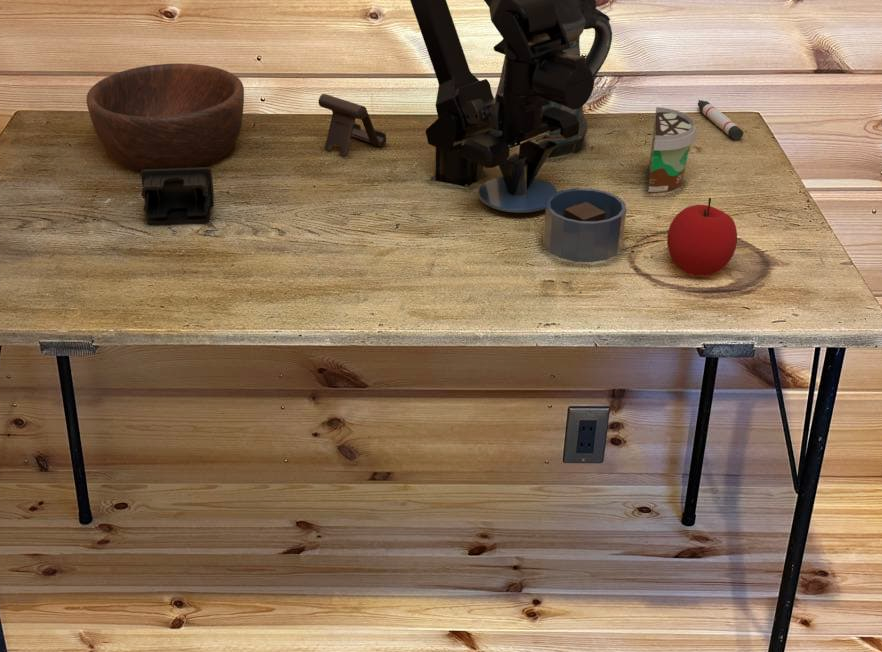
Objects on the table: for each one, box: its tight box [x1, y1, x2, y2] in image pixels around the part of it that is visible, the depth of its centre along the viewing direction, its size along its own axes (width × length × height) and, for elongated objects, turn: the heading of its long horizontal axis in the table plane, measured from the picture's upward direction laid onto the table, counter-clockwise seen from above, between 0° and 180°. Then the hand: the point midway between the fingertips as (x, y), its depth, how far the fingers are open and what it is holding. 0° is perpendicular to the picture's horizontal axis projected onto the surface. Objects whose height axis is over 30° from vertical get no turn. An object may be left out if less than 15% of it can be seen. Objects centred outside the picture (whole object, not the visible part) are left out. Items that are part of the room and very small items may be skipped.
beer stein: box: [490, 0, 613, 159], centre depth 189 cm, size 16×19×25 cm
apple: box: [666, 197, 738, 277], centre depth 157 cm, size 9×9×10 cm
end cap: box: [140, 166, 215, 226], centre depth 174 cm, size 10×7×7 cm
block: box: [564, 202, 606, 221], centre depth 164 cm, size 4×4×5 cm
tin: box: [542, 187, 627, 263], centre depth 164 cm, size 11×11×6 cm
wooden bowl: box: [85, 63, 245, 172], centre depth 192 cm, size 25×25×10 cm
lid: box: [478, 162, 558, 214], centre depth 174 cm, size 12×12×6 cm
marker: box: [697, 99, 744, 141], centre depth 200 cm, size 15×2×2 cm, turn 12°
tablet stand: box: [318, 93, 387, 157], centre depth 193 cm, size 9×8×8 cm
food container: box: [647, 106, 697, 194], centre depth 179 cm, size 12×6×10 cm, turn 168°
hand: (518, 191), depth 175 cm, fingers closed on lid, 2 cm apart
